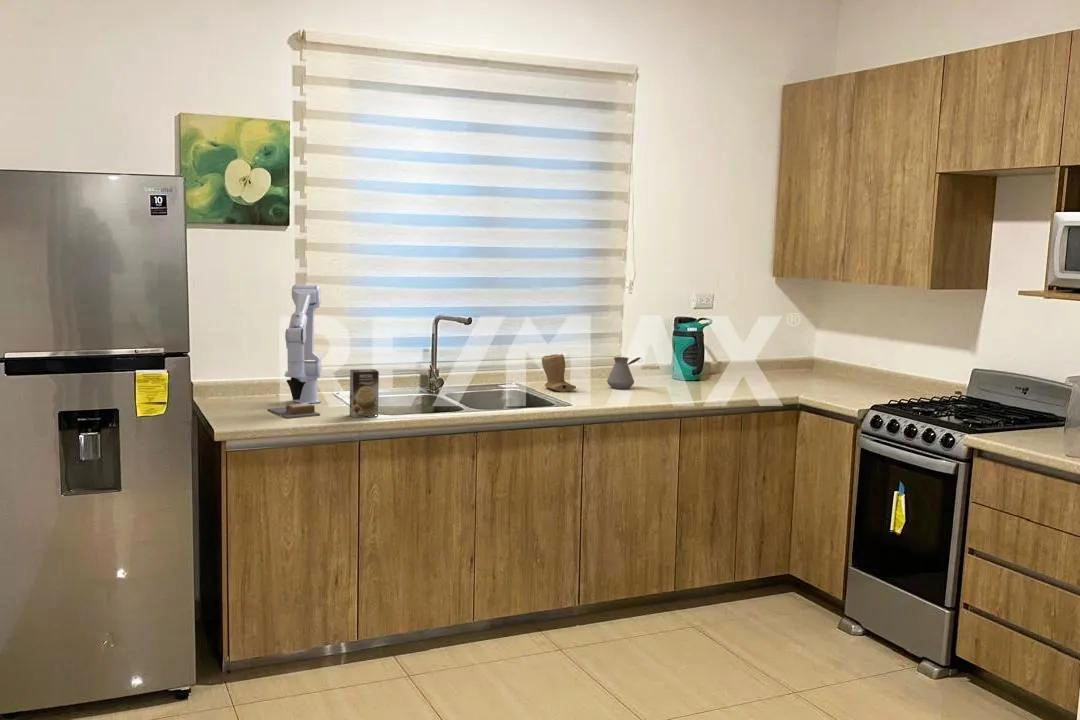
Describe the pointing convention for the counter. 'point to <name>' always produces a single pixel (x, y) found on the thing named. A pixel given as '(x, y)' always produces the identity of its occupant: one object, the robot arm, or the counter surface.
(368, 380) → the coffee box
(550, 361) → the brown suede boot
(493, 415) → the counter surface
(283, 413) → the mat
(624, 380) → the coffee pot
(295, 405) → the slab
